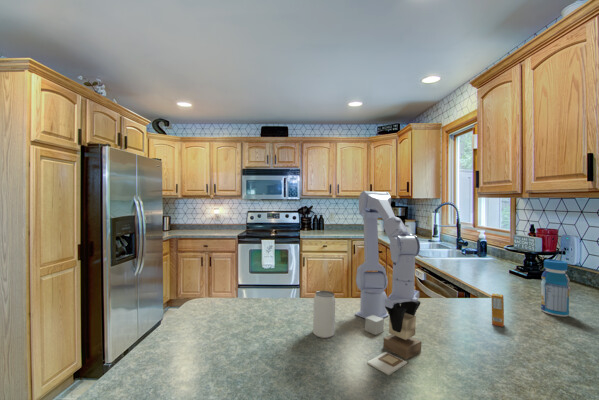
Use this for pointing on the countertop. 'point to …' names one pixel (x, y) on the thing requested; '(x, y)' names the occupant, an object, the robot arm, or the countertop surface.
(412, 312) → the robot arm
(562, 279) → the supplement bottle
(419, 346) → the walnut block
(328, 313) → the can
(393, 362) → the card
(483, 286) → the countertop surface
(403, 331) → the maple cube
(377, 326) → the grey cube
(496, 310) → the supplement box
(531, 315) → the countertop surface
